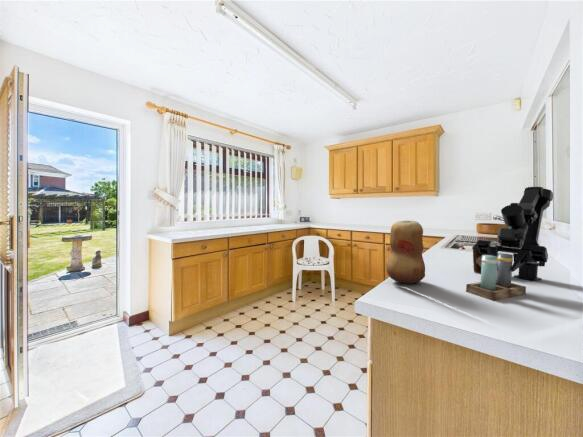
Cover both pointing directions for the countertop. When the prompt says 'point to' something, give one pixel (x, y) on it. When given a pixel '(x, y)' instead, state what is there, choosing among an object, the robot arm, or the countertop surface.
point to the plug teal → (488, 272)
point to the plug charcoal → (504, 270)
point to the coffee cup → (477, 259)
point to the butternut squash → (406, 252)
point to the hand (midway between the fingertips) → (502, 269)
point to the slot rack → (499, 293)
